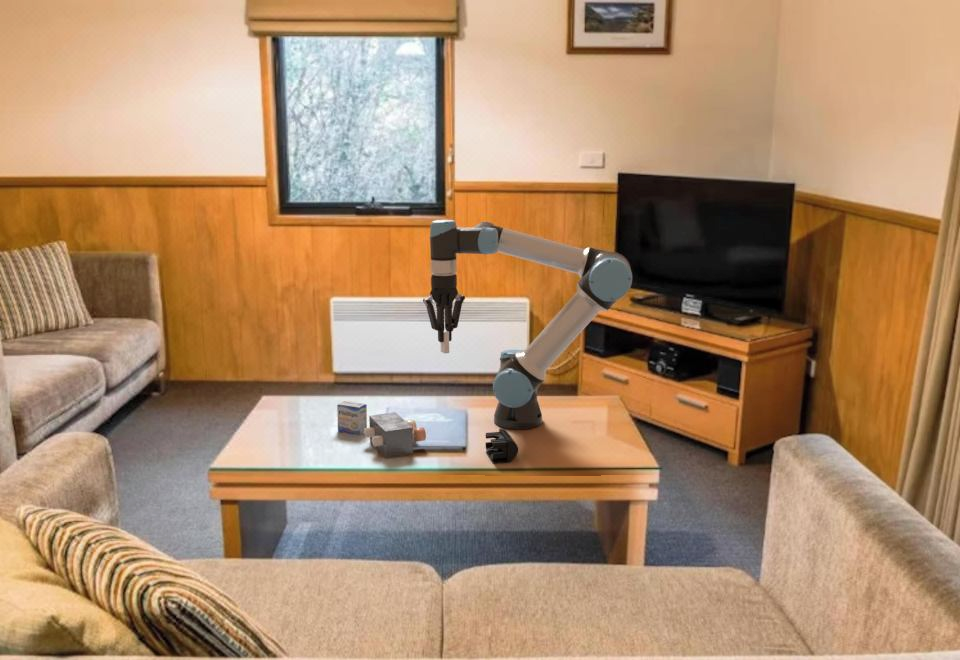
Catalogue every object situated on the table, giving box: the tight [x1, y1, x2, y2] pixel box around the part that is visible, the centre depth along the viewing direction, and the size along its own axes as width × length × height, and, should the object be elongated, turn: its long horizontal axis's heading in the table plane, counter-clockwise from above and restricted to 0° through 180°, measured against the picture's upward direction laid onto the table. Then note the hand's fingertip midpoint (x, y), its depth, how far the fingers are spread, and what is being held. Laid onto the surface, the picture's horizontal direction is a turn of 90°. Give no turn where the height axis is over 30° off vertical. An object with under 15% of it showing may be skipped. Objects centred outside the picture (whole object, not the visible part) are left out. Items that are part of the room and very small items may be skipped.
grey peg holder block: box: [368, 411, 414, 459], centre depth 246 cm, size 8×14×8 cm, turn 25°
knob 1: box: [363, 419, 418, 439], centre depth 250 cm, size 15×4×4 cm, turn 115°
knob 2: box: [371, 427, 427, 447], centre depth 243 cm, size 15×4×4 cm, turn 115°
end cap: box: [485, 428, 519, 465], centre depth 240 cm, size 10×7×7 cm
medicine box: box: [336, 400, 368, 436], centre depth 259 cm, size 8×4×9 cm, turn 68°
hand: (445, 352), depth 254 cm, fingers closed
